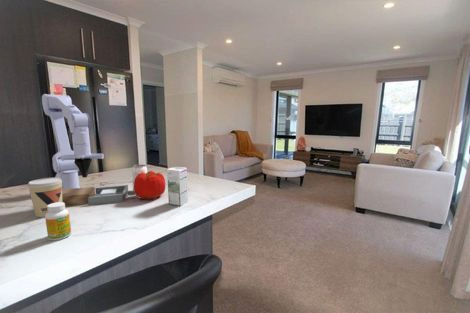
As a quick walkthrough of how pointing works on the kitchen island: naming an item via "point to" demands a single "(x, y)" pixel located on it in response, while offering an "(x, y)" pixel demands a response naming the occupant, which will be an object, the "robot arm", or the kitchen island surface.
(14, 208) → the kitchen island surface
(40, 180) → the coffee cup
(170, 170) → the syrup box
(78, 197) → the brown shallow box
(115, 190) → the white block
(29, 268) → the kitchen island surface
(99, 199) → the tray
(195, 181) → the kitchen island surface
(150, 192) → the tomato
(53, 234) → the supplement bottle
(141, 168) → the can
